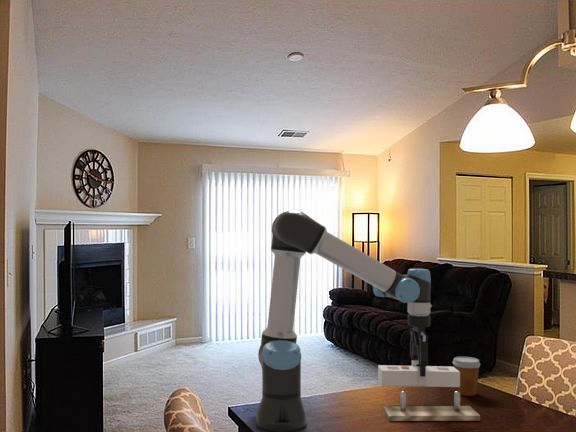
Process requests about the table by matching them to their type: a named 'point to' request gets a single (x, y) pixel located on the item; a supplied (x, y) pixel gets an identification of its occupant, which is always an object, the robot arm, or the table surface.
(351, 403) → the table surface
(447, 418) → the hanger board
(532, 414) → the table surface
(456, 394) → the chrome knobs
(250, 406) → the table surface
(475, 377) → the disposable coffee cup
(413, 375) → the power strip
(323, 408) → the table surface
